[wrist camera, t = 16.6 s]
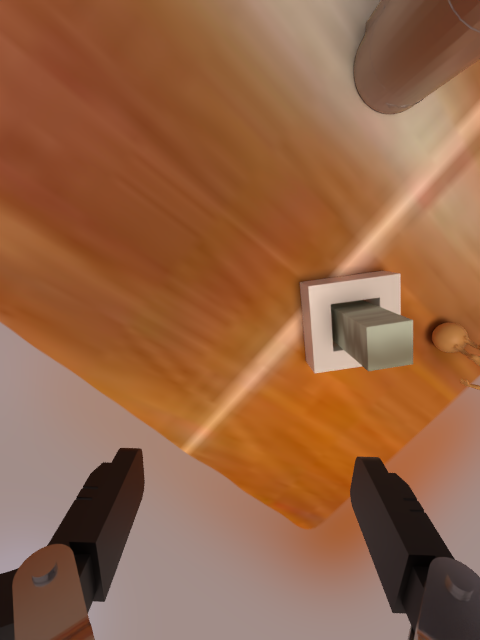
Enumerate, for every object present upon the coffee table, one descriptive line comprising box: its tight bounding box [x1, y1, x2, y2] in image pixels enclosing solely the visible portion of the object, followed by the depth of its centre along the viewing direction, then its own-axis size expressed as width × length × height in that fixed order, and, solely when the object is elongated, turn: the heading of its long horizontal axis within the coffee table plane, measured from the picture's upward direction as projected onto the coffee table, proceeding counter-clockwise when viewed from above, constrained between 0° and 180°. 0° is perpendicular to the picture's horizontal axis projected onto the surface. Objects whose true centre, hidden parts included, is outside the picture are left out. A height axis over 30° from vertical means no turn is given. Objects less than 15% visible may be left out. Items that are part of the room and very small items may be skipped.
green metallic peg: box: [331, 300, 413, 371], centre depth 36 cm, size 4×4×12 cm
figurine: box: [432, 323, 480, 390], centre depth 38 cm, size 8×6×12 cm
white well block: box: [300, 271, 400, 373], centre depth 40 cm, size 11×11×4 cm
